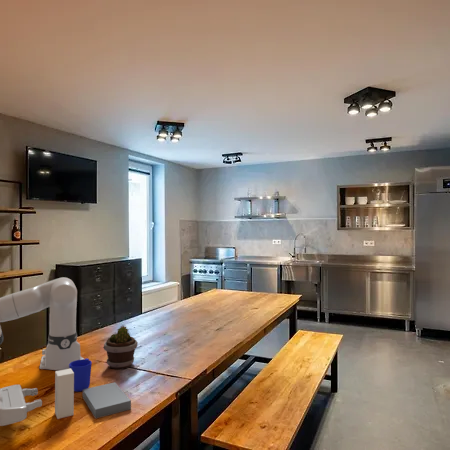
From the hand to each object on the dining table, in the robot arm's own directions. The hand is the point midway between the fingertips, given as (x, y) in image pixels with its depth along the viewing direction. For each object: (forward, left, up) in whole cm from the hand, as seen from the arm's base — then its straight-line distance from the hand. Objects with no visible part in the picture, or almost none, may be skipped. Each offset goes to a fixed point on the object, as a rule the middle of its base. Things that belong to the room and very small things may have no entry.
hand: (39, 396), depth 122 cm
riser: (0, +22, -8) cm, 23 cm away
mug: (-19, +18, -8) cm, 27 cm away
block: (0, +8, -8) cm, 11 cm away
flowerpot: (-33, +38, -8) cm, 51 cm away
